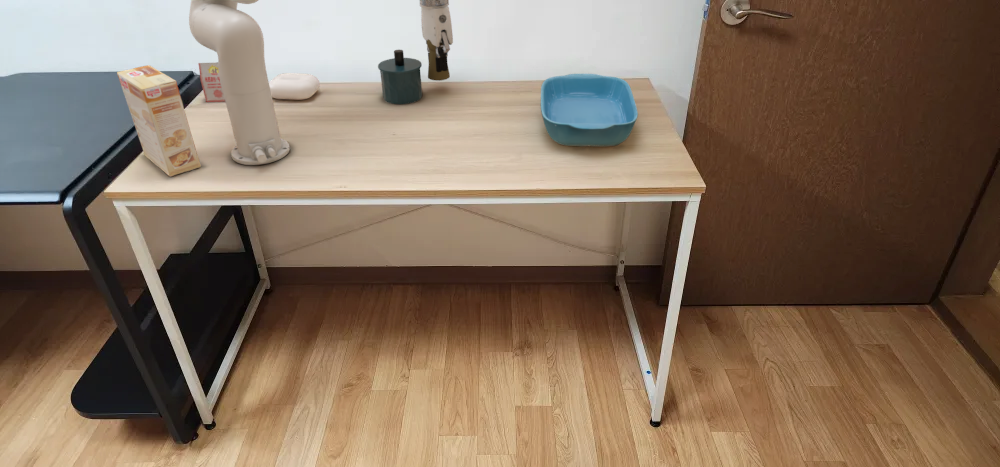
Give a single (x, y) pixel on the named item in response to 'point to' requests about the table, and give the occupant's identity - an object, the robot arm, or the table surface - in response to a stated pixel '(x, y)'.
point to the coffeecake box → (159, 119)
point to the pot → (401, 87)
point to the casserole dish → (588, 109)
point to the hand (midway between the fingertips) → (438, 68)
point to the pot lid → (399, 64)
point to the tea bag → (211, 82)
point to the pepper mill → (432, 64)
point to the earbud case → (294, 86)
